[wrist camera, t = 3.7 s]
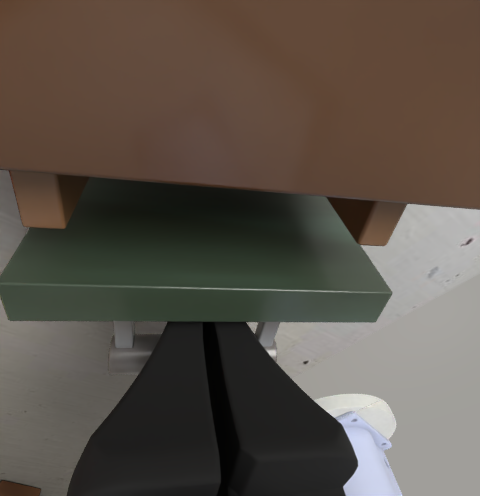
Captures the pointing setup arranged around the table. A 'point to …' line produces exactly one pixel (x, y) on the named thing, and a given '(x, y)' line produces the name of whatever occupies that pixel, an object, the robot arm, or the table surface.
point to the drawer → (190, 258)
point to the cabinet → (248, 95)
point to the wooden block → (17, 489)
